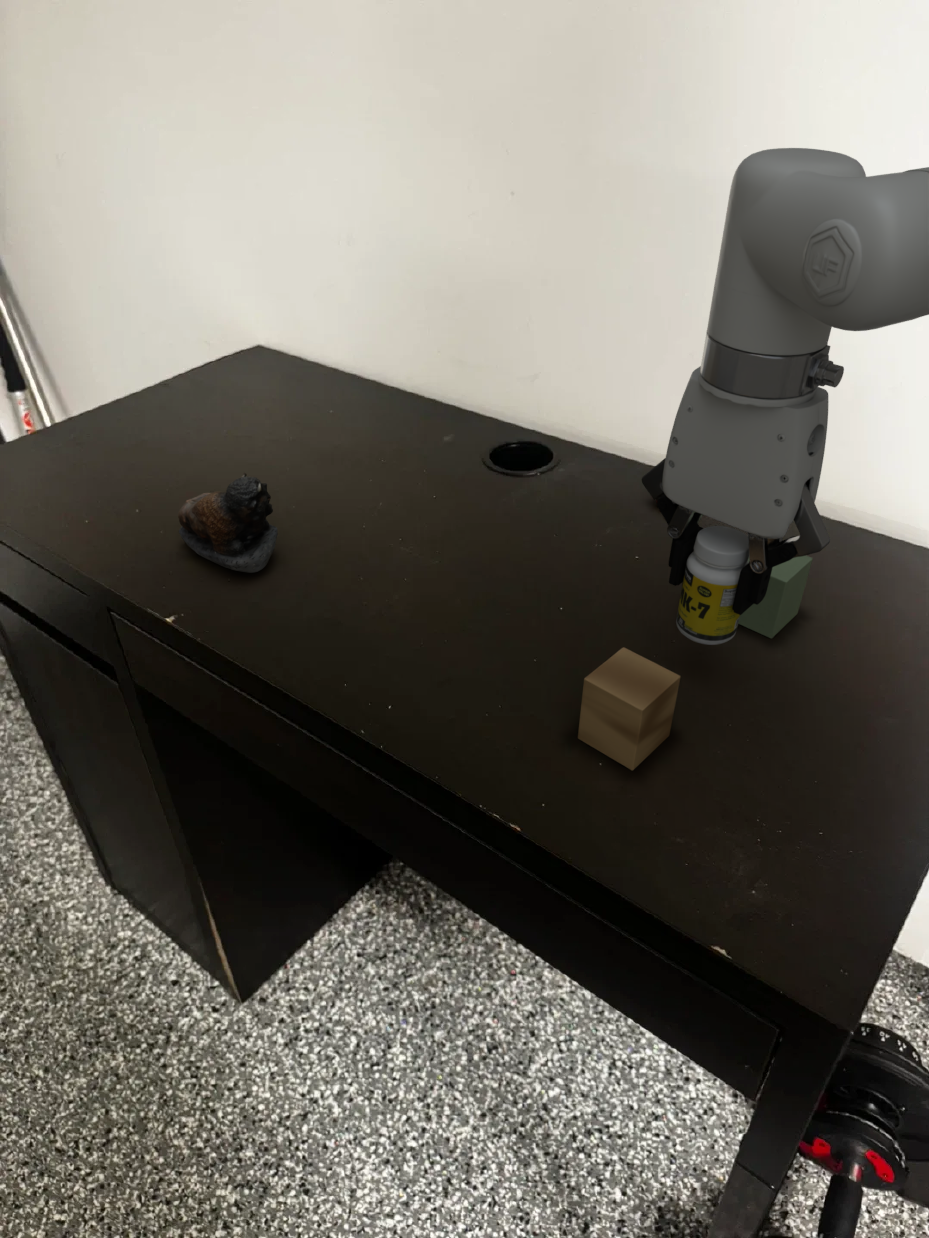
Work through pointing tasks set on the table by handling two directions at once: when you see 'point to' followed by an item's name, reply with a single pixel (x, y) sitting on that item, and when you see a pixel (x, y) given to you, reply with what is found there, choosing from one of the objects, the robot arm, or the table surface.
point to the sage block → (779, 598)
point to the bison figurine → (231, 525)
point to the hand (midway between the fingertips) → (713, 589)
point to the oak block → (627, 707)
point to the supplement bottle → (712, 585)
